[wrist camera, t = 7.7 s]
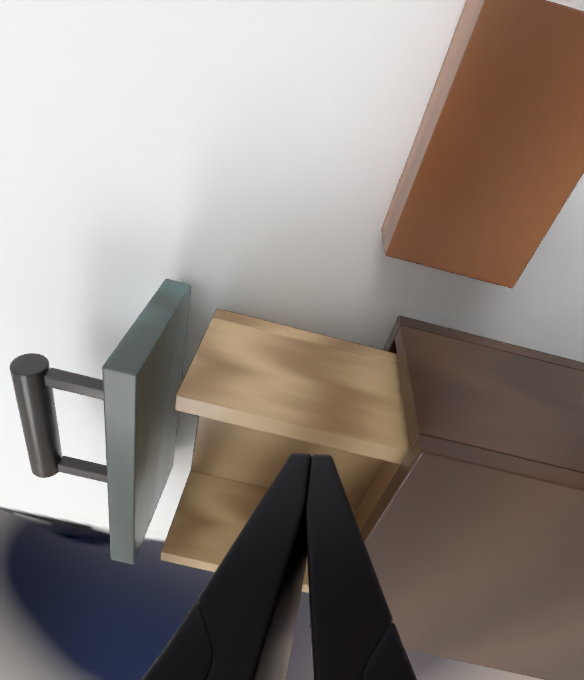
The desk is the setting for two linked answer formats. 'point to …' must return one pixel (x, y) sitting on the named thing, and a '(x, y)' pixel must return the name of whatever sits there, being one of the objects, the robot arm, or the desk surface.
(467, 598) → the cabinet
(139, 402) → the drawer
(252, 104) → the desk surface
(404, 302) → the desk surface
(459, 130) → the brown rectangular box
